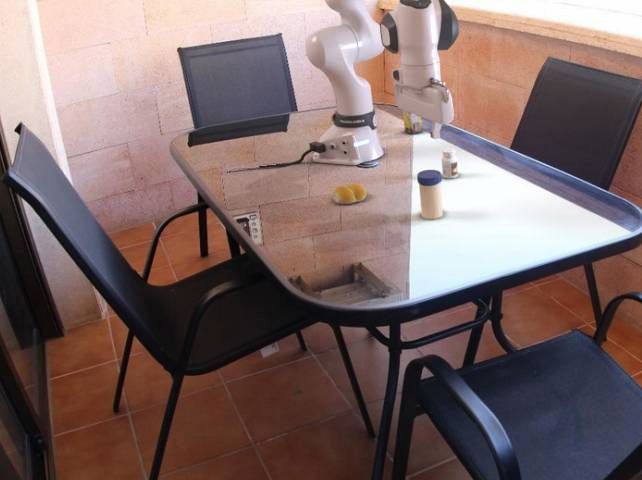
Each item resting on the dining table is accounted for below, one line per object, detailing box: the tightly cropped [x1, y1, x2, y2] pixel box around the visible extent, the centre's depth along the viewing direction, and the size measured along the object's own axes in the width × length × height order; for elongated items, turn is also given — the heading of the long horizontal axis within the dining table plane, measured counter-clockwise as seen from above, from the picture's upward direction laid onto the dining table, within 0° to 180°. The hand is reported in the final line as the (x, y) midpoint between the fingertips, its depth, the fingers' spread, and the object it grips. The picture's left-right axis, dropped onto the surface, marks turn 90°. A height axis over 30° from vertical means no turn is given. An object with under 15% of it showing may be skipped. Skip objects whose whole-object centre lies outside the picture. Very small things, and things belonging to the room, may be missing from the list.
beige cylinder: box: [418, 181, 444, 220], centre depth 168 cm, size 5×5×11 cm
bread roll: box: [332, 183, 367, 205], centre depth 181 cm, size 8×9×4 cm
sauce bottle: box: [402, 110, 423, 135], centre depth 225 cm, size 6×6×20 cm
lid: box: [416, 169, 442, 186], centre depth 165 cm, size 6×6×2 cm
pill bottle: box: [441, 148, 459, 179], centre depth 191 cm, size 4×4×8 cm
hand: (425, 134), depth 159 cm, fingers open, 7 cm apart
